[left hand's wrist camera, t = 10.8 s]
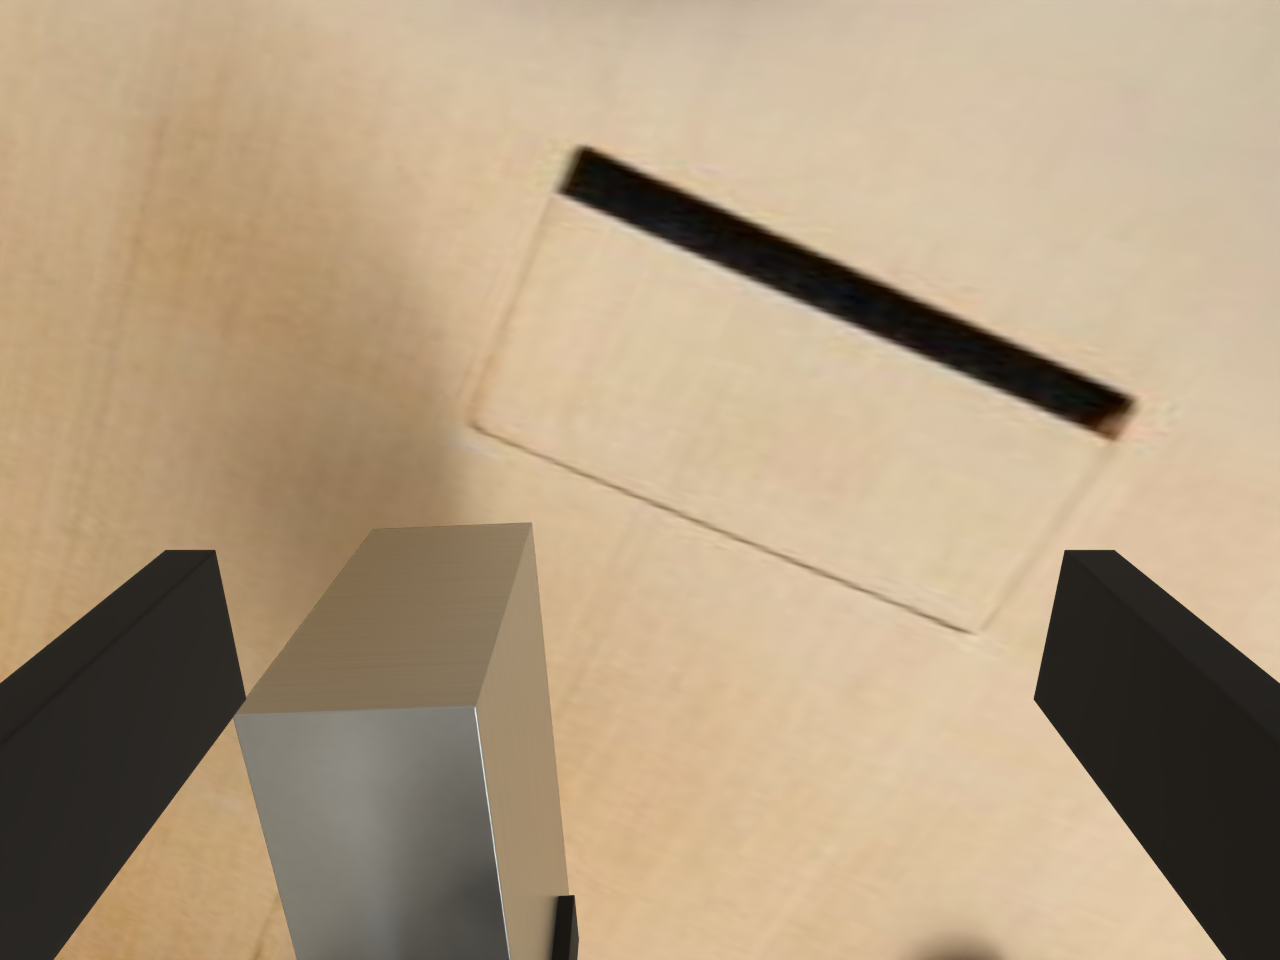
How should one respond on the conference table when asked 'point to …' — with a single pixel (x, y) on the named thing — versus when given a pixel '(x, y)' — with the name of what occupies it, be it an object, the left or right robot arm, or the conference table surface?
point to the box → (414, 755)
